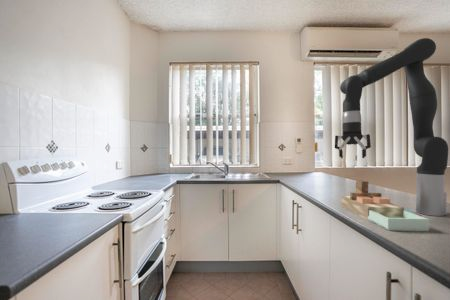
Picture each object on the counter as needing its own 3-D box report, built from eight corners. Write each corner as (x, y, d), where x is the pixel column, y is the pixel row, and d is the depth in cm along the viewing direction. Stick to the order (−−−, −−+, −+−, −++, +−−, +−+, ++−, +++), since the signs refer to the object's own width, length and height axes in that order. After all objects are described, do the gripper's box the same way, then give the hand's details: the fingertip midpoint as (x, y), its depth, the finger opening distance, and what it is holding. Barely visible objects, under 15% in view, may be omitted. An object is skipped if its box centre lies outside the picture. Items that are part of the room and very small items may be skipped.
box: (403, 220, 95) (404, 210, 95) (429, 230, 83) (429, 219, 83) (367, 219, 95) (367, 209, 95) (388, 230, 83) (388, 218, 83)
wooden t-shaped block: (372, 197, 115) (372, 180, 115) (381, 200, 108) (381, 182, 108) (344, 196, 115) (345, 180, 115) (351, 199, 108) (352, 182, 108)
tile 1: (367, 201, 106) (367, 196, 106) (373, 203, 101) (373, 198, 101) (356, 201, 106) (356, 196, 106) (362, 203, 101) (362, 198, 101)
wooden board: (370, 206, 117) (370, 196, 117) (403, 220, 95) (404, 207, 95) (341, 206, 117) (341, 195, 117) (367, 219, 95) (368, 207, 95)
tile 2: (383, 201, 106) (383, 196, 106) (390, 203, 101) (390, 199, 101) (372, 201, 106) (372, 196, 106) (379, 203, 101) (379, 198, 101)
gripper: (369, 121, 109) (369, 157, 110) (334, 123, 116) (335, 157, 116) (371, 120, 103) (371, 158, 103) (334, 122, 109) (334, 158, 109)
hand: (352, 158), depth 109 cm, fingers open, 8 cm apart
